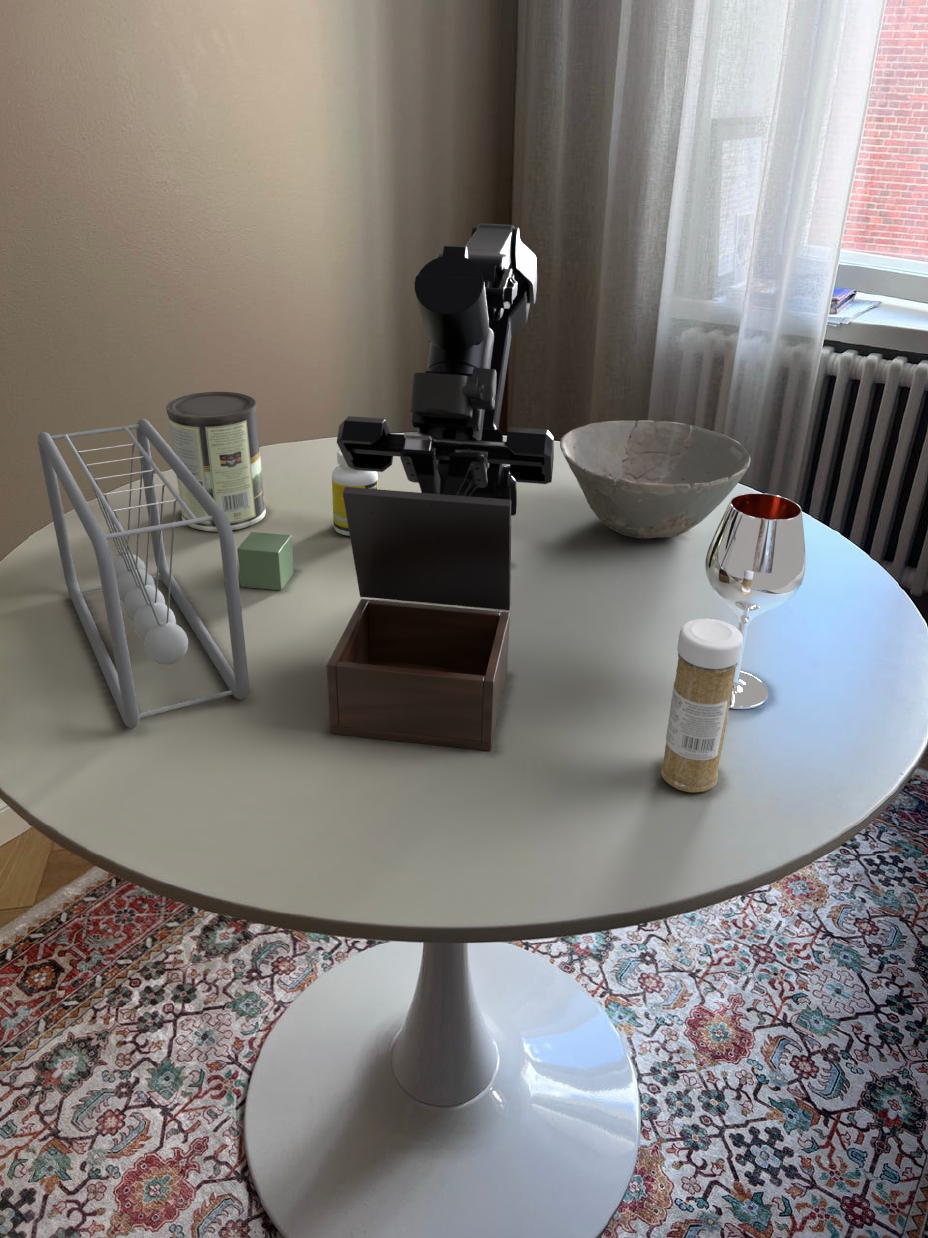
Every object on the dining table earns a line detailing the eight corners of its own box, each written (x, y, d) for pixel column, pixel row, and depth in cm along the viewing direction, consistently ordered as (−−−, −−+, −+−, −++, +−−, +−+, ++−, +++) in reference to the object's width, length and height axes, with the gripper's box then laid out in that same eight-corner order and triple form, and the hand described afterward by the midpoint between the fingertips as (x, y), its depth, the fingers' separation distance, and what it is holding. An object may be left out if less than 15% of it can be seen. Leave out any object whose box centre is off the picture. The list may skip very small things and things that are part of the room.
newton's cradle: (252, 707, 86) (233, 519, 77) (130, 740, 81) (95, 544, 73) (165, 569, 109) (143, 412, 100) (66, 589, 104) (34, 426, 96)
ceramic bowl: (673, 482, 135) (682, 411, 130) (775, 551, 116) (791, 471, 111) (524, 501, 128) (528, 427, 123) (608, 578, 109) (616, 494, 104)
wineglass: (675, 666, 93) (702, 488, 84) (759, 664, 94) (795, 487, 85) (701, 716, 86) (733, 527, 77) (791, 713, 87) (833, 525, 78)
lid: (510, 506, 78) (511, 499, 78) (342, 493, 80) (344, 486, 80) (509, 610, 87) (510, 604, 88) (359, 597, 89) (361, 590, 90)
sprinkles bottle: (722, 769, 80) (749, 624, 73) (709, 802, 76) (737, 652, 69) (667, 753, 81) (689, 610, 75) (652, 785, 78) (673, 637, 71)
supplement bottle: (371, 540, 116) (369, 461, 112) (327, 535, 117) (323, 456, 113) (384, 522, 121) (382, 445, 116) (341, 517, 122) (338, 441, 117)
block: (254, 568, 109) (251, 531, 107) (294, 572, 109) (291, 534, 107) (240, 587, 105) (236, 548, 103) (281, 590, 105) (278, 552, 103)
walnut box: (490, 751, 81) (493, 681, 78) (330, 733, 83) (326, 665, 79) (506, 676, 91) (510, 611, 88) (363, 661, 93) (360, 598, 89)
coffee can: (223, 493, 128) (211, 385, 121) (283, 511, 123) (275, 400, 116) (162, 519, 120) (146, 406, 114) (224, 539, 116) (211, 423, 109)
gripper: (337, 322, 83) (307, 494, 78) (560, 335, 80) (541, 512, 76) (362, 389, 93) (337, 544, 89) (560, 402, 91) (543, 561, 87)
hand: (434, 540), depth 85 cm, fingers closed
